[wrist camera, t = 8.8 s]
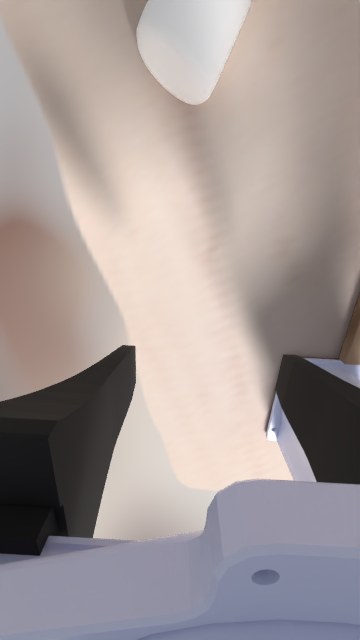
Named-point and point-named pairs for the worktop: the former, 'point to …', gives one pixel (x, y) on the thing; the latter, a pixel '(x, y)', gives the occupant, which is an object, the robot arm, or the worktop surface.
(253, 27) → the worktop surface
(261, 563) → the robot arm
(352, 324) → the railed tan base plate
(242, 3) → the unicorn horn
